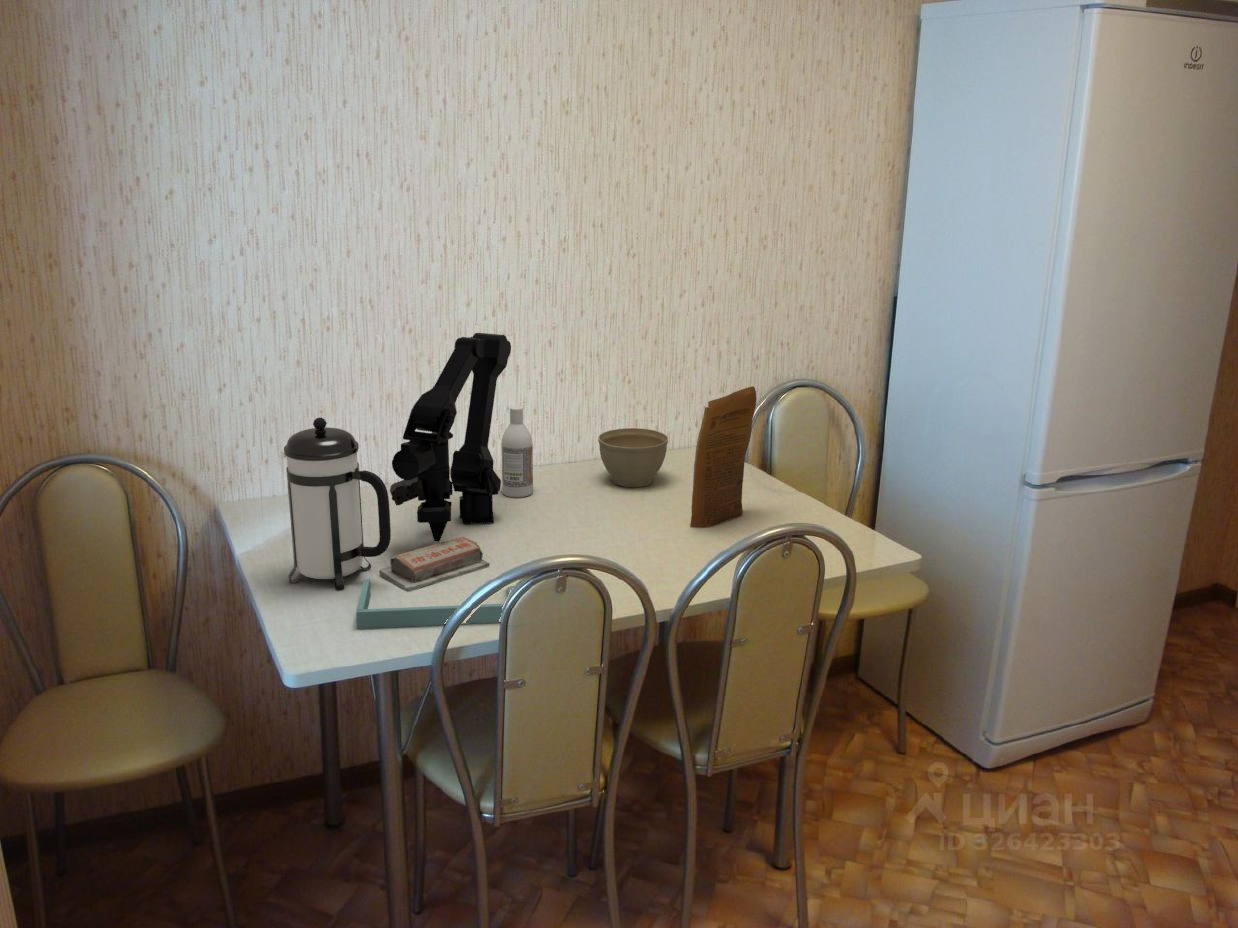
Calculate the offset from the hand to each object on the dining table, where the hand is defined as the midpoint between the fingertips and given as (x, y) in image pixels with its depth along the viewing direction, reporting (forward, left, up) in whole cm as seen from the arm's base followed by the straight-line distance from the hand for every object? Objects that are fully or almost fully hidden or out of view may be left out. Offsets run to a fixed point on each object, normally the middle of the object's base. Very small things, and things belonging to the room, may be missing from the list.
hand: (437, 541), depth 214 cm
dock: (-1, +29, -1) cm, 29 cm away
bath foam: (-17, -31, -1) cm, 35 cm away
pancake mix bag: (-59, -10, -1) cm, 60 cm away
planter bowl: (-44, -37, -1) cm, 57 cm away
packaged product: (0, +12, -2) cm, 13 cm away
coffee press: (+18, +13, -1) cm, 22 cm away
